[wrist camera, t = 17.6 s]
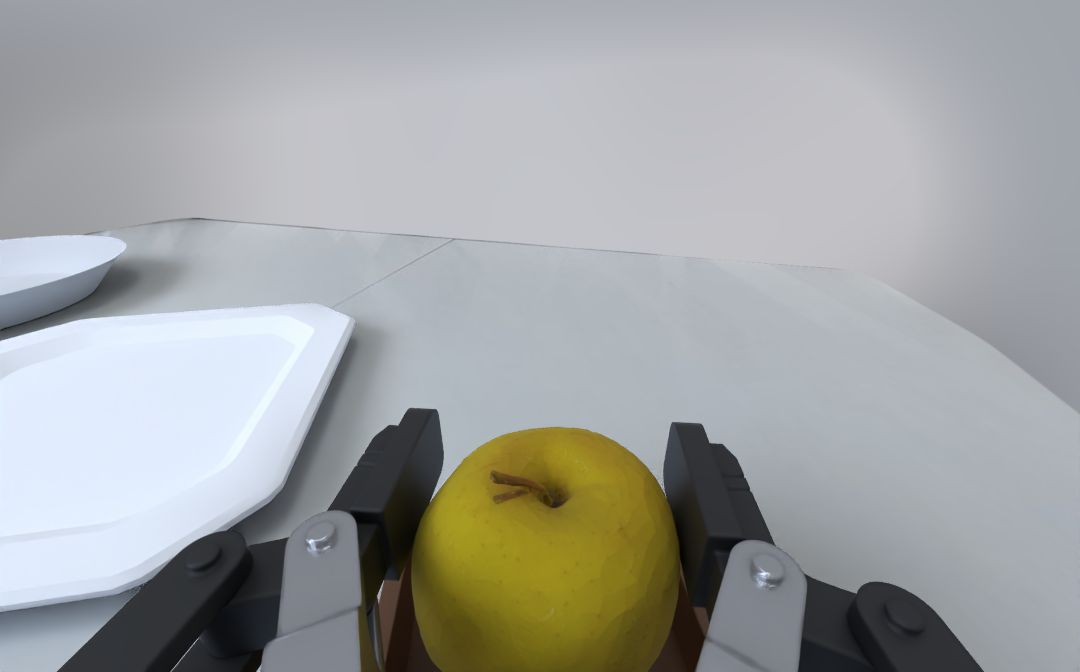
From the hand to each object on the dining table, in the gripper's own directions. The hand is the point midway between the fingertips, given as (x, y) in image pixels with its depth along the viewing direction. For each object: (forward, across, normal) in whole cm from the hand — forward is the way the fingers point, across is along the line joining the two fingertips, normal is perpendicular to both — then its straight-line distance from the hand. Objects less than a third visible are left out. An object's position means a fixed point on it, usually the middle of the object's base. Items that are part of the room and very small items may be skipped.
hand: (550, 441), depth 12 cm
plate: (+8, +26, +8) cm, 29 cm away
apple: (-2, 0, +6) cm, 7 cm away
